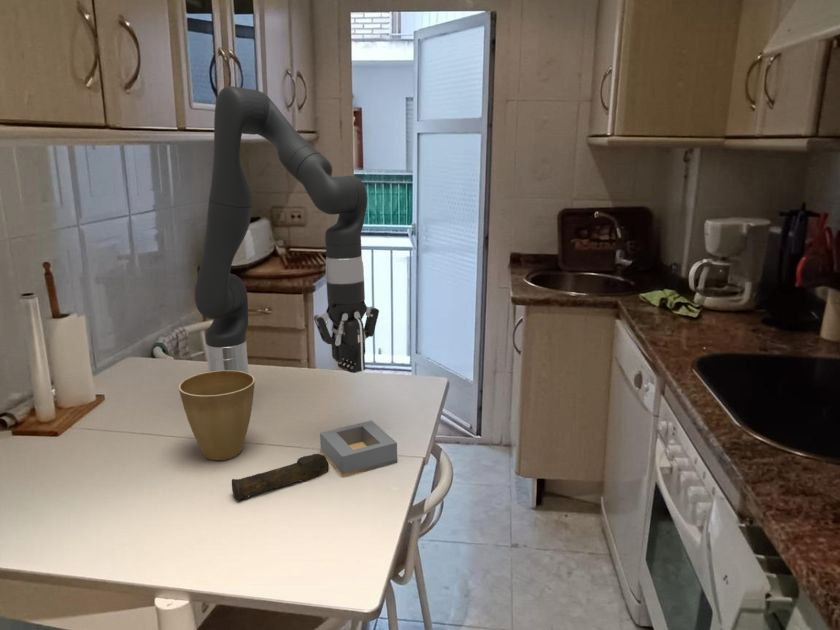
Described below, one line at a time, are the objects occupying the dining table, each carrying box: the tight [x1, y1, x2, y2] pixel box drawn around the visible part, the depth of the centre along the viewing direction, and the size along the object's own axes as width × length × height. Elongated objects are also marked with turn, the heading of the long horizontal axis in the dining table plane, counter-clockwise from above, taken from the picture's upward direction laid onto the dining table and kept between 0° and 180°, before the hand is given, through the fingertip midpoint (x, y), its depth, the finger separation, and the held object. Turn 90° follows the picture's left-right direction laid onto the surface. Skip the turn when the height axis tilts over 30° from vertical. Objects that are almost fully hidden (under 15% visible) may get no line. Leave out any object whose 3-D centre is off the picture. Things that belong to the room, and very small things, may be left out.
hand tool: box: [231, 453, 330, 502], centre depth 120 cm, size 19×4×5 cm, turn 120°
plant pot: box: [178, 370, 256, 461], centre depth 132 cm, size 15×15×16 cm
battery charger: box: [335, 318, 366, 374], centre depth 130 cm, size 7×4×11 cm, turn 41°
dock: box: [319, 420, 398, 478], centre depth 131 cm, size 12×12×4 cm
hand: (349, 358), depth 131 cm, fingers closed on battery charger, 4 cm apart
